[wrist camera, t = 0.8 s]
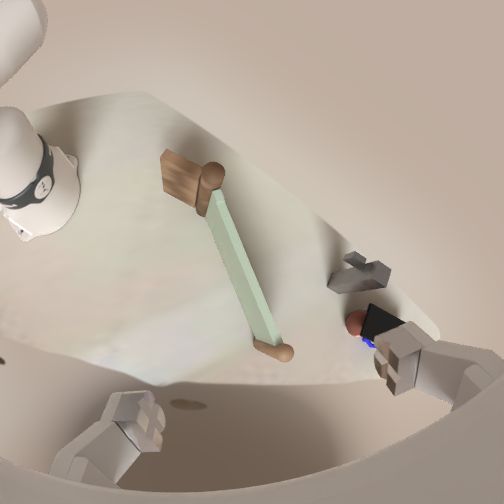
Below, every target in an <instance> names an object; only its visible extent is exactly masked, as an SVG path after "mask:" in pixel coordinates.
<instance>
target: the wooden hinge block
mask: <svg viewBox="0 0 504 504" xmlns="http://www.w3.org/2000/svg"><path fill="white" fill-rule="evenodd" d="M160 161H161V171H162V180H163V188H164V192H166V193H168V194H170V195H172V196H174V197H175V198H177V199H179V200H181V201H183V202H184V203H186V204H188V205H190V206H192V207H193V208H195V206H196V211H197V213H198V214H199V215H200V216H202V217H205V216H206V213H207V209H208V205H209V201H210V198H211V194H212V191H215V190H218V189H220V187H221V184H222V181H223V179H224V176H225V169H224V167H223V166H222V165H221V164H219V163H217V162H210V163H207V164H206V165H205V166H204V167H203V168H202V167H200V166H199V165H197V164H195V163H193V162H191V161H189V160H187V159H185V158H183V157H181V156H180V155H178V154H176V153H174V152H172V151H170V150H168V149H166V150H165V151H164V153H163V154H162V155H161V157H160Z"/></svg>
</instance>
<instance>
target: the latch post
mask: <svg viewBox="0 0 504 504" xmlns="http://www.w3.org/2000/svg"><path fill="white" fill-rule="evenodd" d="M343 260H344V261H346V262H347V263H349V264H350V265H352V266H353V268H349V269H346V270H342V271H338V272H335V273H332V276H331V278H330V281H329V283H328V286H327V287H328V288H329V289H331V290H333V291H335V292H336V293H338V294H343V293H351V292H358V291H365V290H372V289H378V288H385V287H386V286H387V283H388V280H389V276H390V273H391V269H390V268H388V267H387V266H385V265H384V264H383V263H381V262H380V261H374V262H371V263H367V264H365V262H366V258H365V257H363V256H362V255H360V254H359V253H357V252H356V251H354V252H351V253H349V254H346V255H345V256H344V259H343Z"/></svg>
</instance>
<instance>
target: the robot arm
mask: <svg viewBox="0 0 504 504" xmlns="http://www.w3.org/2000/svg"><path fill="white" fill-rule="evenodd" d="M46 30H47V12H46V8H45V6H44V4H43V2H42V1H41V0H0V88H1V87H2V86H3V85H4V84H5V83H6V82H7V81H8V80H9V79H10V78H12V77H13V76H14V75H15V74H16V73H17V72H18V70H19V69H20V68H21V67H22V66H23V65H24V64H25V63H26V61H28V59H29V58H30V57H31V56H32V55H33V54H34V53H35V52H36V51H37V50H38V49H39V47H41V45H42V44H43V41H44V38H45V35H46ZM77 167H78V160H77V158H76V157H75V156H72V155H68V154H64V153H63V152H62V150H61V149H60V148H59V147H58V146H56V147H54V146H50V145H48V143H47V142H46V140H45V139H43V138H42V136H40V135H39V134H37V133H36V132H35V130H34V129H33V127H32V125H31V124H30V122H29V121H28V119H27V118H26V116H25V114H24V113H23V112H22V111H21V110H19V109H17V108H15V107H0V212H3V213H2V214H3V216H4V217H5V218H7V219H8V221H9V222H10V224H11V225H12V227H13V228H14V230H15V231H16V233H17V234H18V235H19V237H20V238H21V239H22V240H23V241H24V242H27V241H30V240H31V239H33V238H34V237H36V236H39V235H46V234H50V233H53V232H55V231H56V230H58V229H59V228H61V227H62V226H63V225H64V224H65V223H66V222H67V221H68V220H69V218H70V217H71V216H72V214H73V212H74V210H75V208H76V206H77V203H78V200H79V194H80V184H79V180H78V176H77ZM22 230H24V231H23V232H22ZM374 346H375V347H376V348H377V351H376V352H375V354H374V364H375V368H376V370H377V372H378V374H379V376H380V377H381V378H384V379H387V383H386V385H387V387H388V388H389V389H390V391H391V392H392V394H393V395H394V396H397V395H399V394H401V393H404V392H406V391H408V390H410V389H412V388H414V387H415V389H417V390H419V391H422V392H424V393H426V394H429V395H431V396H433V397H436V398H438V399H440V400H443V401H445V402H448V403H450V404H453V407H452V409H451V412H450V414H448V415H446V416H444V417H443V418H441V419H440V420H438V421H436V422H435V423H433V424H432V425H429V426H428V427H426V428H424V429H422V430H420V431H419V432H417V433H415V434H413V435H411V436H409V437H407V438H405V439H403V440H401V441H399V442H397V443H395V444H393V445H390V446H388V447H386V448H384V449H382V450H379V451H377V452H375V453H372V454H370V455H367V456H365V457H362V458H360V459H357V460H354V461H352V462H349V463H346V464H343V465H340V466H337V467H334V468H331V469H328V470H325V471H321V472H318V473H314V474H311V475H307V476H303V477H300V478H295V479H291V480H287V481H282V482H277V483H272V484H267V485H262V486H255V487H248V488H241V489H233V490H223V491H210V492H188V493H164V492H144V491H143V492H142V491H132V490H131V491H130V490H122V489H120V488H119V487H118V486H117V485H116V482H117V481H118V480H119V479H120V478H121V476H122V475H123V474H124V473H125V472H126V470H127V469H128V468H129V467H130V465H131V464H132V463H133V462H134V461H135V459H136V458H137V457H138V455H139V454H140V452H156V451H161V446H162V440H163V437H162V436H161V435H160V433H161V432H162V431H163V430H164V429H165V416H164V413H163V411H162V409H161V407H160V406H159V405H157V404H156V403H154V399H155V397H154V396H153V394H152V393H151V392H150V391H148V390H146V391H130V392H114V393H113V394H111V397H110V399H109V401H108V403H107V406H106V408H105V410H104V413H103V415H102V417H101V420H100V422H95V423H94V424H93V425H92V426H90V427H89V428H88V429H87V430H85V431H84V432H83V433H82V434H80V435H79V436H78V437H76V438H75V439H74V440H73V441H71V442H70V443H69V444H68V445H66V446H65V447H64V448H63V449H61V450H60V451H58V452H57V455H56V457H55V459H54V461H53V464H52V466H51V469H50V471H49V474H45V473H41V472H38V471H35V470H32V469H29V468H26V467H24V466H21V465H18V464H16V463H13V462H10V461H8V460H6V459H3V458H1V457H0V504H504V360H503V359H502V358H501V357H500V356H498V355H497V354H496V353H495V352H493V351H492V350H488V349H482V348H476V347H471V346H466V345H460V344H455V343H450V342H445V341H440V340H438V341H434V340H433V339H432V338H431V337H430V336H429V335H428V334H426V333H425V332H424V331H423V330H422V329H421V328H419V327H418V326H417V325H416V324H415V323H414V322H411V321H409V322H407V323H405V324H403V325H400V326H399V327H396V328H394V329H392V330H389V331H387V332H384V333H382V334H379V335H377V336H375V339H374Z"/></svg>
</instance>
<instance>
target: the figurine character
mask: <svg viewBox="0 0 504 504" xmlns="http://www.w3.org/2000/svg"><path fill="white" fill-rule="evenodd" d="M405 323H406V322H404V321H402V320H400V319H399V318H397V317H395V316H393V315H391V314H390V313H388V312H386V311H384V310H382V309H381V308H379V307H377V306H375V305H374V304H372V303H370V304H369V306H368V310H367V312H365V311H362V310H357V311H354V312H352V313H351V314H350V315H349V317H348V319H347V322H346V327H347V330H348V332H349V333H350V334H351V335H353V336H355V337H363V338H362V340H363V341H364V342H365V341H366V343H367V344H368V345H369V347H373V348H376V347H375V346H374V344H371V342H370V341H372V342H374V339H375V336H377V335H379V334H382V333H384V332H387V331H389V330H392V329H394V328H396V327H399V326H400V325H403V324H405ZM369 340H370V341H369Z"/></svg>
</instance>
